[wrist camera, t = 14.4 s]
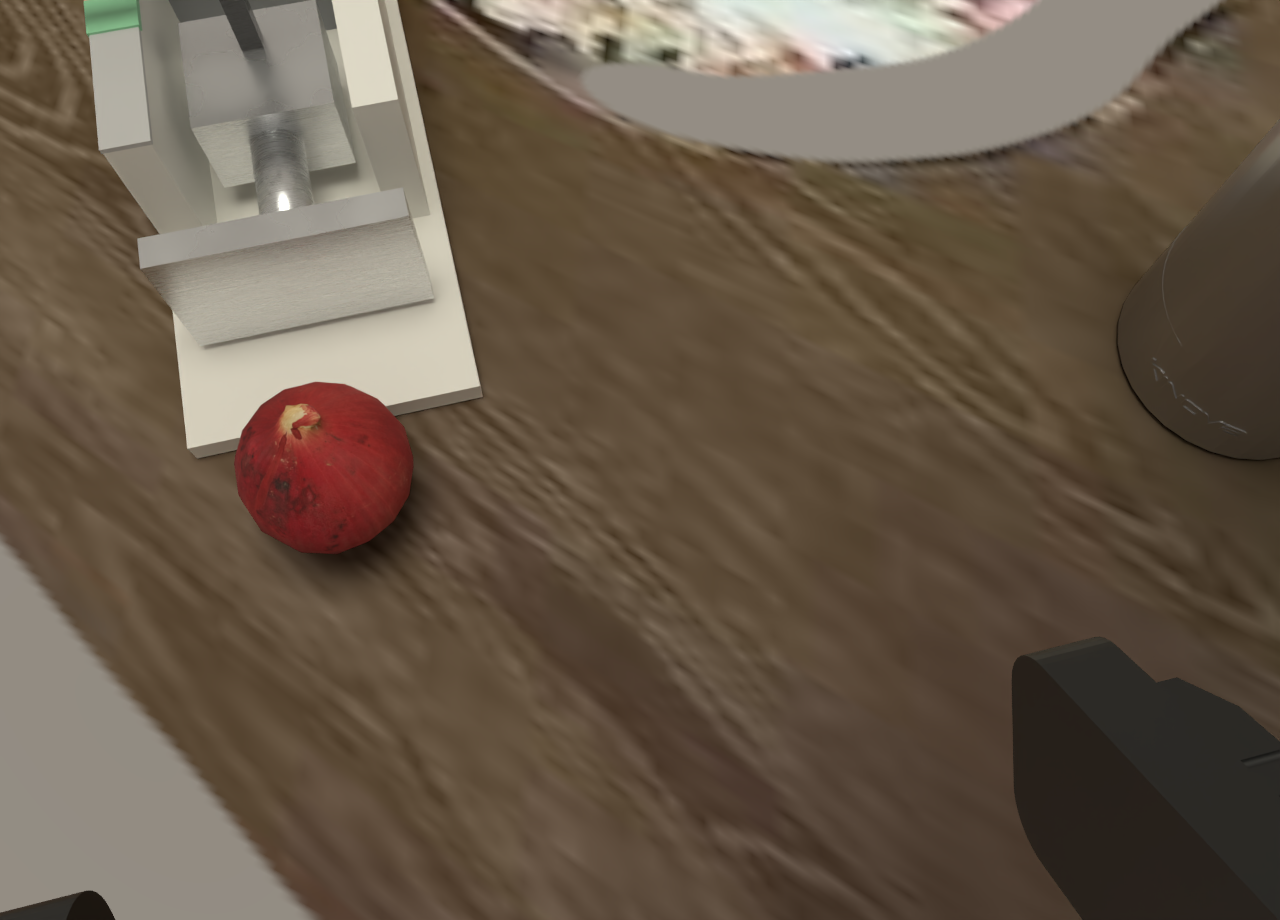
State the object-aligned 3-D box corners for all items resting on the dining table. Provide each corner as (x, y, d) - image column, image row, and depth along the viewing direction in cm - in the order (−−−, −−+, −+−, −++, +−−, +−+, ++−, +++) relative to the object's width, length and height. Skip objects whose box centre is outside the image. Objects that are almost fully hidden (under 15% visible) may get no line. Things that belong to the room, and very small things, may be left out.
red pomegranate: (375, 605, 39) (318, 539, 32) (241, 536, 40) (155, 456, 33) (456, 470, 41) (420, 379, 34) (326, 407, 42) (264, 305, 35)
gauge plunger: (434, 298, 42) (388, 151, 34) (171, 352, 41) (55, 214, 33) (387, 73, 46) (336, -109, 38) (146, 117, 45) (37, -60, 37)
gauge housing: (482, 396, 42) (453, 288, 35) (197, 458, 41) (100, 360, 34) (394, -10, 50) (354, -175, 42) (150, 32, 49) (61, -129, 41)
